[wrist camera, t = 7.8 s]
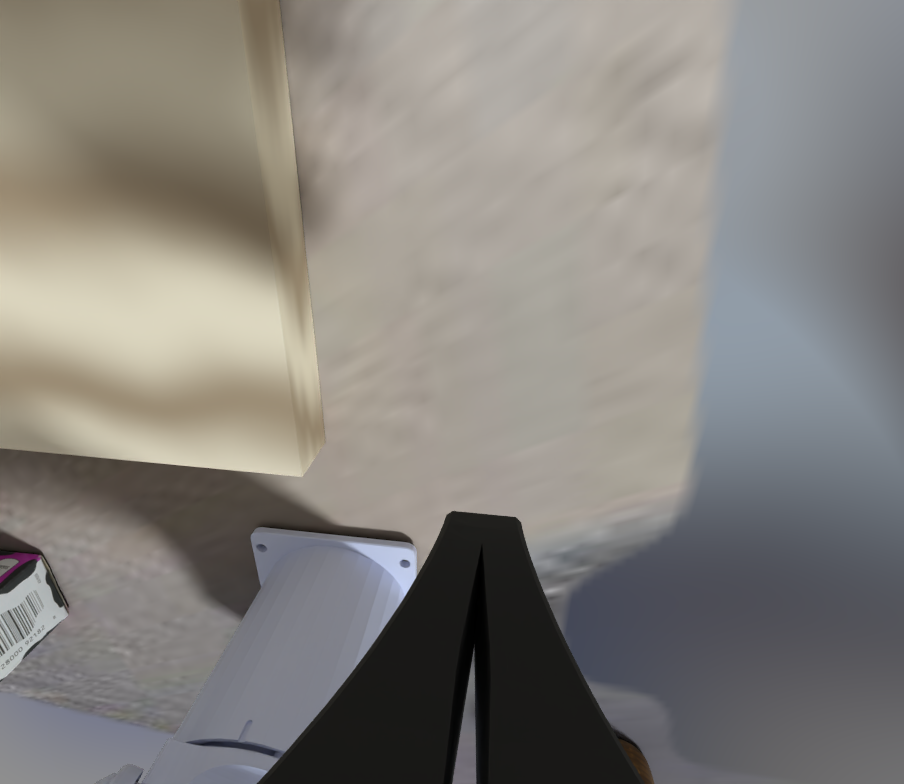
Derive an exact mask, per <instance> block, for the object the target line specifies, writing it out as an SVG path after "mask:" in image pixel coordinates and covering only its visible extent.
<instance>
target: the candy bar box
mask: <svg viewBox="0 0 904 784" xmlns="http://www.w3.org/2000/svg"><path fill="white" fill-rule="evenodd" d="M68 615H69V609H68V607H67V605H66V603H65V601H64V598H63V596H62V594H61V592H60V590H59V588H58V586H57V584H56V581H55V579H54V577H53V575H52V572H51V571H50V568H49V566H48V565H47V563H46V561H45V560H44V558H43V556H41V555H37V554H27V553H17V552H7V551H0V682H1V681H2V680H3V679H4V678H5V677H6V676H7V675H8V674H9V673H10V672H11V671H12V670H13V669H14V668H15V667H16V666H17V665H18V664H19V663H20V662H21V661H22V660H23V659H24V658H25V657H26V656H27V655H28V654H29V653H30V652H31V651H32V650H33V649H34V648H35V647H36V646H37V645H38V644H39V643H40V642H41V641H42V640H43V639H44V638H45V637H46V636H47V635H48V634H49V633H50V632H51V631H52V630H53V629H54V628H55V627H56V626H57V625H58V624H59V623H60V622H61V621H62V620H64V619H65V618H66V617H67V616H68Z"/></svg>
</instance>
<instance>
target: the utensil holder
mask: <svg viewBox="0 0 904 784" xmlns="http://www.w3.org/2000/svg"><path fill="white" fill-rule="evenodd" d="M618 740H619V741H620V743H621V745H622V747H623V748H624V750H625V751H626V753H627V755H628V756H629V758H630V760H631V761H632V763H633V765H634V766H635V768H636V769H637V771H638V773H639V774H640V776H641V778H642V779H643V781H644V783H645V784H654V781H653V777H652V774H651V771H650V768H649V765H648V763H647V761H646V759H645V757H644V755H643V754H642V753H641V752H640V751H639V750H638V749H637V748H636V747H635V746H633V745H632V744H630V743H628V742H626V741H624V740H621V739H618Z"/></svg>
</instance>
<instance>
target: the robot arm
mask: <svg viewBox="0 0 904 784" xmlns="http://www.w3.org/2000/svg"><path fill="white" fill-rule="evenodd" d="M251 543H252V548H253V552H254V557H255V562H256V567H257V571H258V576H259V581H260V585H261V589H260V590H259V592H258V594H257V595H256V597H255V599H254V601H253V602H252V604H251V606H250V607H249V609H248V611H247V613H246V614H245V616H244V618H243V619H242V621H241V623H240V624H239V626H238V628H237V630H236V631H235V633H234V635H233V636H232V638H231V640H230V642H229V643H228V645H227V647H226V648H225V650H224V652H223V653H222V655H221V657H220V659H219V660H218V662H217V664H216V665H215V667H214V669H213V671H212V672H211V674H210V676H209V677H208V679H207V681H206V682H205V684H204V686H203V688H202V689H201V691H200V693H199V694H198V696H197V698H196V700H195V701H194V703H193V705H192V706H191V708H190V710H189V712H188V713H187V715H186V717H185V718H184V720H183V722H182V723H181V725H180V727H179V729H178V730H177V732H176V734H175V735H174V737H173V738H170V739H168V740H167V741H166V743H165V744H164V746H163V748H162V750H161V751H160V753H159V755H158V756H157V758H156V760H155V761H154V763H153V765H152V767H151V768H150V770H149V771H148V773H147V775H146V776H145V778H144V780H143V781H142V783H141V784H452V782H453V775H454V769H455V762H456V756H457V750H458V744H459V737H460V731H461V725H462V718H463V712H464V706H465V700H466V693H467V687H468V681H469V675H470V668H471V662H472V656H473V649H474V651H475V717H476V780H477V784H645V783H644V781H643V779H642V778H641V776H640V774H639V773H638V771H637V769H636V768H635V766H634V765H633V763H632V761H631V760H630V758H629V756H628V755H627V753H626V751H625V750H624V748H623V747H622V745H621V743H620V741H619V740H618V738H617V736H616V734H615V733H614V731H613V729H612V728H611V726H610V724H609V722H608V721H607V719H606V717H605V715H604V714H603V712H602V710H601V708H600V707H599V705H598V703H597V701H596V699H595V697H594V696H593V694H592V692H591V690H590V688H589V686H588V684H587V683H586V681H585V679H584V677H583V675H582V673H581V671H580V669H579V667H578V665H577V663H576V661H575V659H574V657H573V655H572V653H571V651H570V649H569V647H568V645H567V643H566V641H565V639H564V637H563V635H562V632H561V630H560V628H559V626H558V624H557V622H556V619H555V617H554V615H553V612H552V610H551V608H550V605H549V603H548V601H547V599H546V596H545V594H544V592H543V589H542V587H541V584H540V582H539V579H538V577H537V574H536V571H535V568H534V566H533V563H532V560H531V557H530V554H529V551H528V548H527V545H526V541H525V538H524V534H523V530H522V525H521V522H520V521H519V520H518V519H517V518H516V517H508V516H498V515H487V514H477V513H467V512H456V511H452V512H451V513H449V514H448V515H446V518H445V521H444V524H443V527H442V529H441V531H440V534H439V536H438V538H437V540H436V542H435V544H434V546H433V548H432V550H431V552H430V554H429V556H428V558H427V560H426V561H425V563H424V565H423V567H422V569H421V570H420V572H419V574H418V575H417V551H416V548H415V547H414V545H412V544H410V543H407V542H399V541H389V540H380V539H370V538H361V537H351V536H342V535H332V534H322V533H313V532H303V531H294V530H284V529H275V528H265V527H258V528H256V529H255V530H254V531H253V533H252V534H251ZM262 544H263V545H262ZM264 545H265V546H264ZM404 560H408V561H404ZM143 770H144V769H142V768H140V767H137V766H135V765H132V764H127V765H125V766H123V767H122V768H121V769H120V770H119V771H118V773H113V774H111V775H109V776H107V777H105V778H103V779H101V780H99V781H98V782H96V783H95V784H140V783H138V781H139V779H140V777H141V775H142V773H143Z"/></svg>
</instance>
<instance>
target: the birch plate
mask: <svg viewBox="0 0 904 784" xmlns="http://www.w3.org/2000/svg"><path fill="white" fill-rule="evenodd" d="M324 444H325V432H324V423H323V413H322V403H321V394H320V384H319V375H318V365H317V356H316V346H315V336H314V327H313V317H312V308H311V298H310V289H309V279H308V269H307V260H306V250H305V241H304V231H303V222H302V212H301V202H300V193H299V183H298V174H297V164H296V155H295V145H294V135H293V126H292V116H291V107H290V97H289V88H288V78H287V68H286V59H285V49H284V40H283V30H282V21H281V11H280V1H279V0H0V448H3V449H14V450H24V451H35V452H45V453H56V454H66V455H77V456H87V457H98V458H108V459H119V460H129V461H140V462H150V463H161V464H171V465H182V466H192V467H203V468H213V469H224V470H235V471H245V472H256V473H266V474H277V475H287V476H298V477H303V475H304V474H305V472H306V471H307V469H308V468H309V466H310V465H311V463H312V462H313V460H314V459H315V457H316V456H317V454H318V453H319V451H320V450H321V448H322V447H323V445H324Z"/></svg>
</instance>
